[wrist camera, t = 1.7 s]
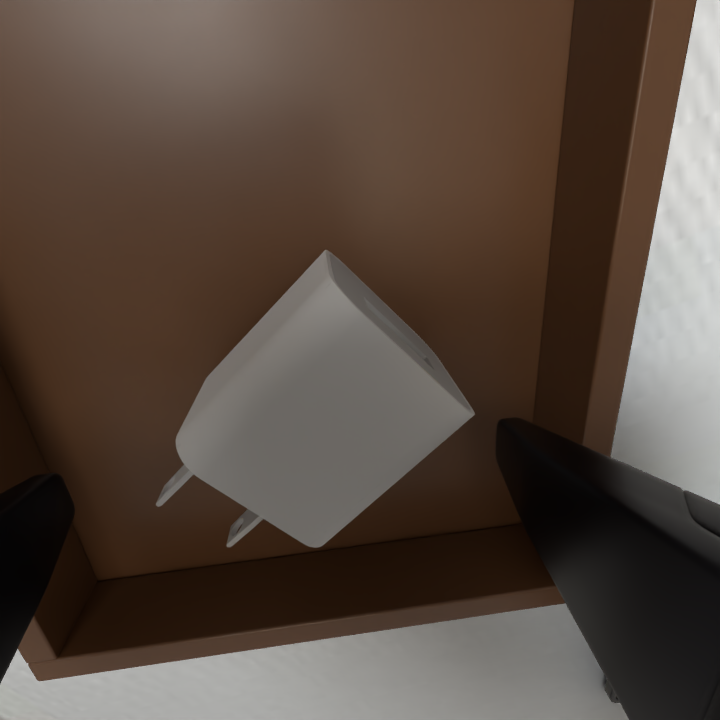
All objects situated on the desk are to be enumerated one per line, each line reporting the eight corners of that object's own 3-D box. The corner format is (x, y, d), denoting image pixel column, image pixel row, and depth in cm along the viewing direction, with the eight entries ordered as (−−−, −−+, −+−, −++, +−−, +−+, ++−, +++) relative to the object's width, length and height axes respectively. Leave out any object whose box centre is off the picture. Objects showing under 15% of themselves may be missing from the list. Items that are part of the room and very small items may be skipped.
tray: (537, 529, 16) (583, 601, 13) (86, 590, 15) (37, 683, 12) (636, -312, 8) (805, -566, 5) (-328, -301, 7) (-743, -607, 4)
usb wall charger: (432, 348, 12) (485, 427, 8) (266, 502, 13) (249, 627, 10) (324, 245, 11) (330, 283, 7) (153, 429, 12) (84, 542, 8)
